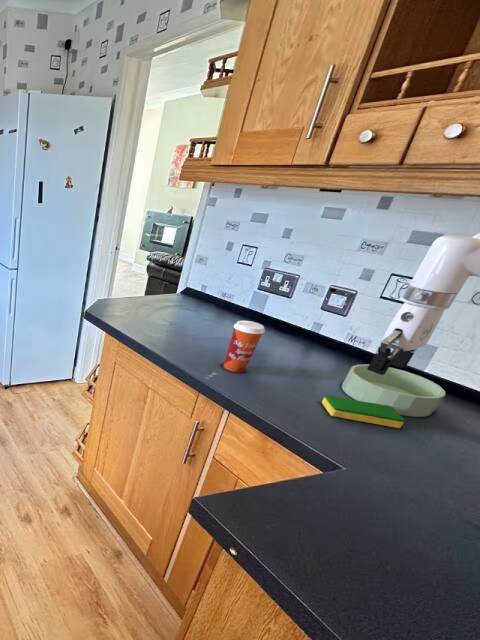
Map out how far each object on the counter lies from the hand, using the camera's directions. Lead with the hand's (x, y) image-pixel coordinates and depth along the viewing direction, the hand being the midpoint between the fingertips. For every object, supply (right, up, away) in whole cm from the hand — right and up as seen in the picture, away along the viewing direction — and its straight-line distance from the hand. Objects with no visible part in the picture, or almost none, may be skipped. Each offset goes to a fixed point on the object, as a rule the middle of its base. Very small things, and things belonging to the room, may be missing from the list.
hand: (385, 368), depth 97 cm
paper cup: (-18, +1, +28) cm, 33 cm away
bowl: (+14, -7, +14) cm, 21 cm away
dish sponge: (-1, -12, +6) cm, 13 cm away
